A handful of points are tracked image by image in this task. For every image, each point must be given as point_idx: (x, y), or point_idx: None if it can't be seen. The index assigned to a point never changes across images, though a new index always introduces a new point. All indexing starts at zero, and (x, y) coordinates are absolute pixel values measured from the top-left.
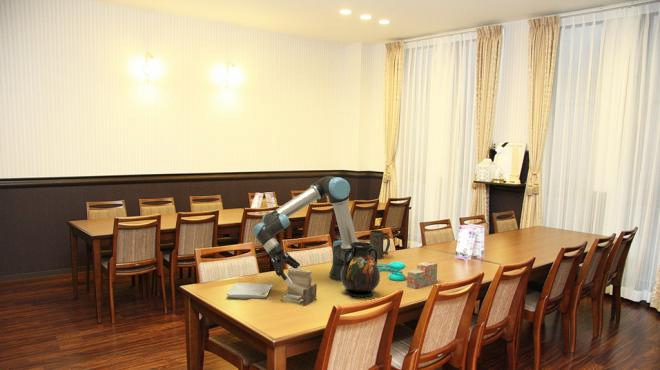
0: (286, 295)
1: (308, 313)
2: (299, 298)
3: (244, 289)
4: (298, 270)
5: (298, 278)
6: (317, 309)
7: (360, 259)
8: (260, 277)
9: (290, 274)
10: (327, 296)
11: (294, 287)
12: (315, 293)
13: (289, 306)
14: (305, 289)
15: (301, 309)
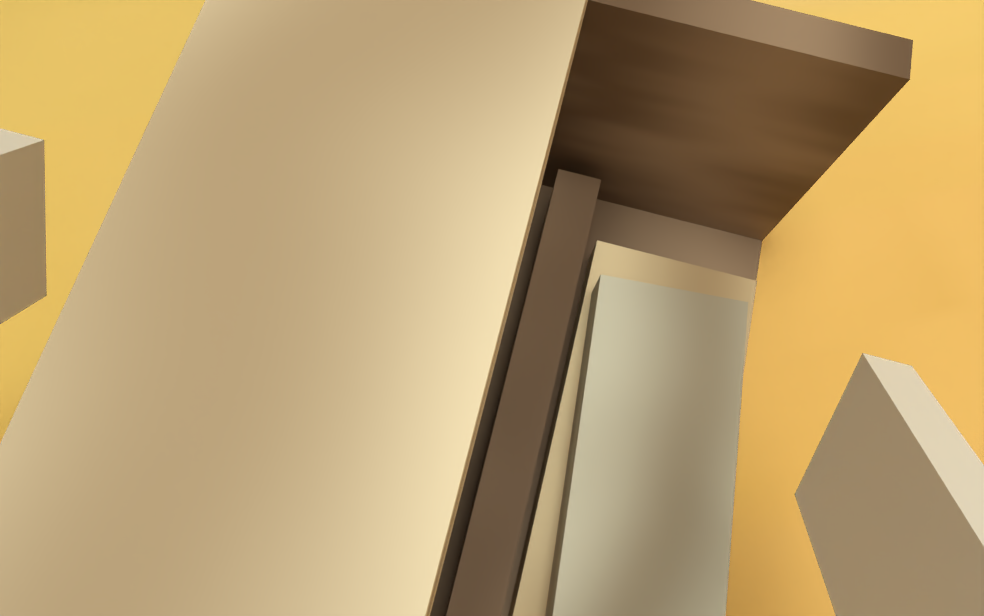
0: (640, 603)
1: (952, 125)
2: (690, 295)
3: None
4: (482, 71)
5: (530, 220)
6: None
7: None
8: None
9: (441, 561)
10: (87, 15)
11: (475, 437)
12: None
13: (793, 475)
14: (866, 40)
15: (842, 252)
